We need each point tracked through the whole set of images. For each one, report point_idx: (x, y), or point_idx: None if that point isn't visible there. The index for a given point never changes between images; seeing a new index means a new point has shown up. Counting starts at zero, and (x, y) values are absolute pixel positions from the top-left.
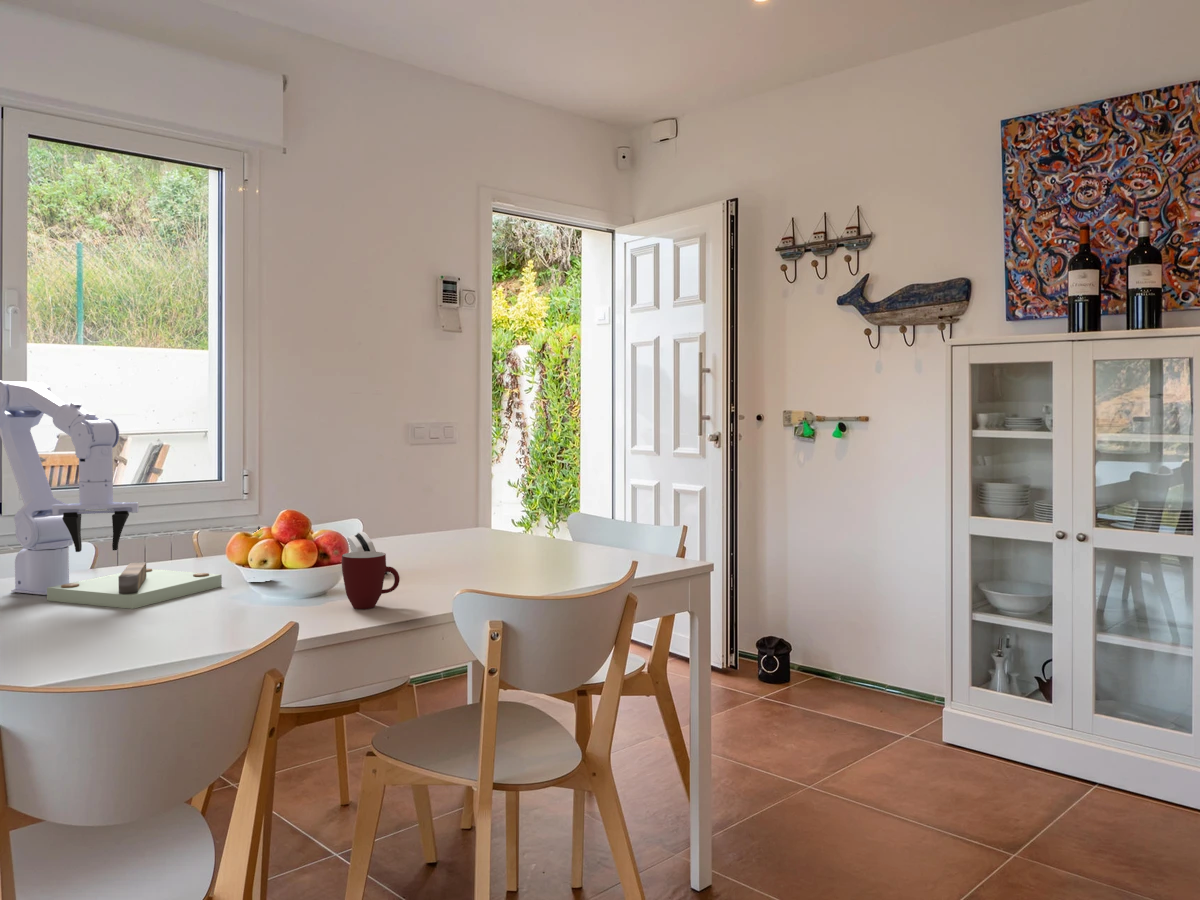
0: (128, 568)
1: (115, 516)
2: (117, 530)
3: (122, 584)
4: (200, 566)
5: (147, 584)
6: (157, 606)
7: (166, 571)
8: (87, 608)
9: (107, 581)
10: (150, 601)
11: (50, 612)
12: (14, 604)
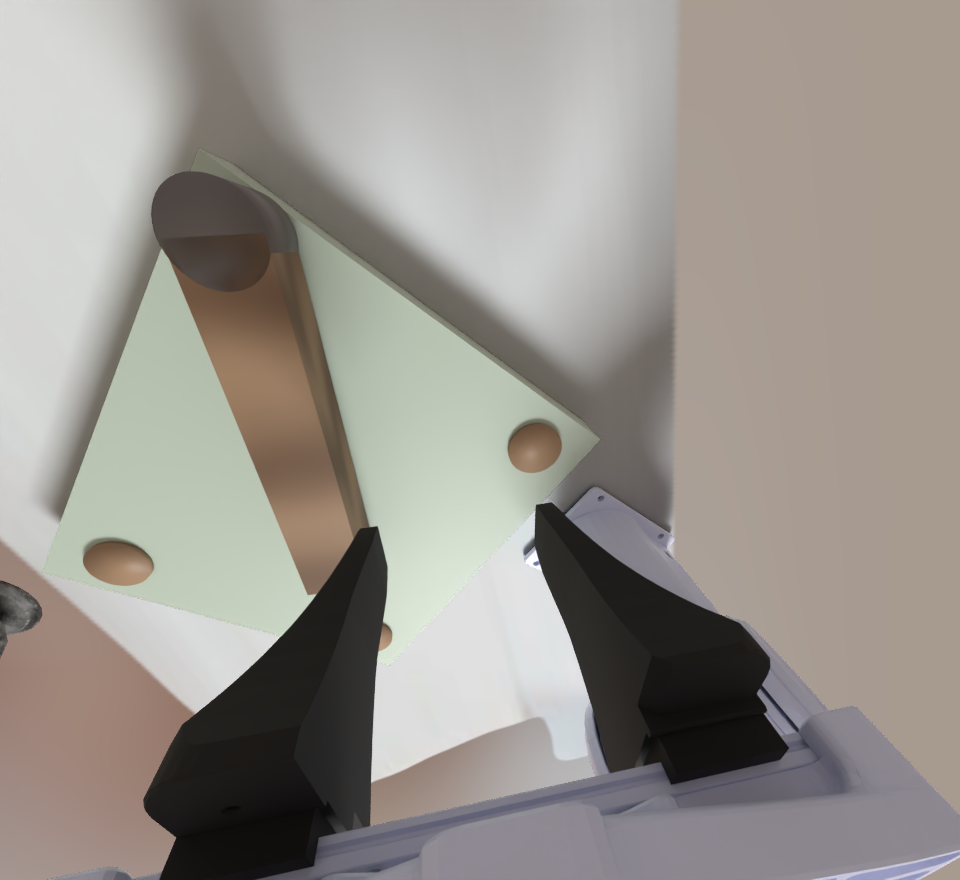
0: (322, 477)
1: (256, 743)
2: (312, 621)
3: (242, 186)
4: None
5: None
6: (133, 194)
7: None
8: (433, 245)
9: (433, 508)
10: None
11: (550, 202)
12: (662, 386)
